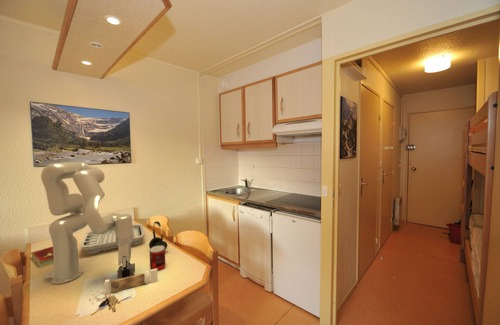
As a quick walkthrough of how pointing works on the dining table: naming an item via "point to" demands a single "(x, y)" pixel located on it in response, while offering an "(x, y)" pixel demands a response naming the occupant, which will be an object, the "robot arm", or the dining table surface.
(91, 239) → the dish rack
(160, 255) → the canned food
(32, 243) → the dining table surface
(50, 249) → the hardcover book
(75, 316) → the dining table surface
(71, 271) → the robot arm
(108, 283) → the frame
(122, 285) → the door
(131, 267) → the doorstop
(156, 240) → the headphones
